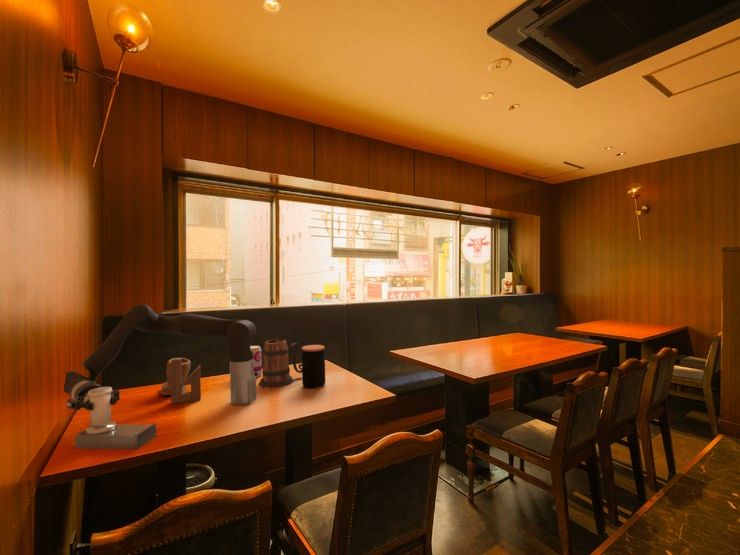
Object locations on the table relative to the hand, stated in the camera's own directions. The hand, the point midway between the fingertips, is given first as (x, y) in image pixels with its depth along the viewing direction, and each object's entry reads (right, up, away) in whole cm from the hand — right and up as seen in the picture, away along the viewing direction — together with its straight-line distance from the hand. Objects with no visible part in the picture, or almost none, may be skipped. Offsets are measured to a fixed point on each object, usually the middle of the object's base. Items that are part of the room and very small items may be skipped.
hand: (103, 404), depth 109 cm
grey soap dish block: (+3, -13, +1) cm, 13 cm away
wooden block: (+6, -12, +37) cm, 40 cm away
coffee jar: (+57, -11, +55) cm, 80 cm away
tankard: (+40, -12, +63) cm, 76 cm away
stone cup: (-5, -12, +50) cm, 52 cm away
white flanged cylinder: (-2, -6, +2) cm, 7 cm away
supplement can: (+23, -12, +72) cm, 77 cm away
